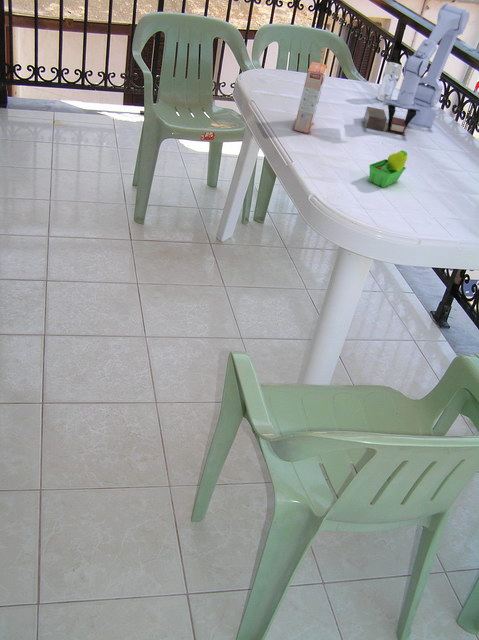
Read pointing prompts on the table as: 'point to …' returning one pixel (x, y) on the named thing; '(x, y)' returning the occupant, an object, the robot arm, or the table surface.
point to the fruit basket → (388, 169)
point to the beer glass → (389, 80)
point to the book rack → (377, 120)
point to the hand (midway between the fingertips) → (396, 127)
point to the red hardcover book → (398, 125)
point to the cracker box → (310, 97)
